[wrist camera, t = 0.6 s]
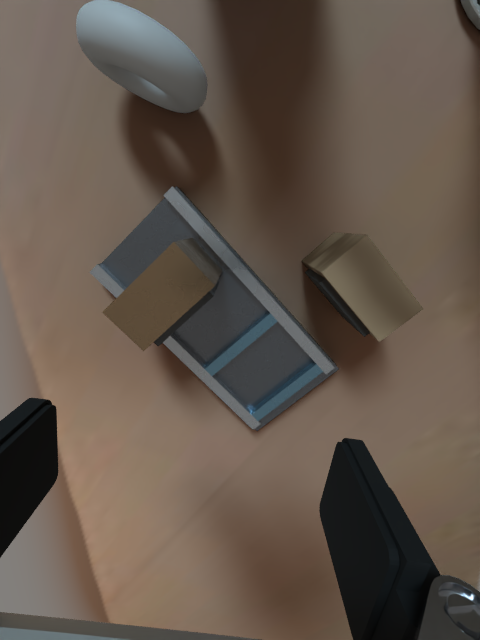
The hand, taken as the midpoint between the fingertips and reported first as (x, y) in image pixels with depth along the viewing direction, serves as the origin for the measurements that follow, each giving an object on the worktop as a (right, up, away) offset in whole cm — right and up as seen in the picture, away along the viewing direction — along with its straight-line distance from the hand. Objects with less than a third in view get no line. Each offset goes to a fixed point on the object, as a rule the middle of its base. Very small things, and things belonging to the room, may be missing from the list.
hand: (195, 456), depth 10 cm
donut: (-6, +26, +19) cm, 33 cm away
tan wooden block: (+12, +9, +24) cm, 28 cm away
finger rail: (-1, +5, +25) cm, 26 cm away
